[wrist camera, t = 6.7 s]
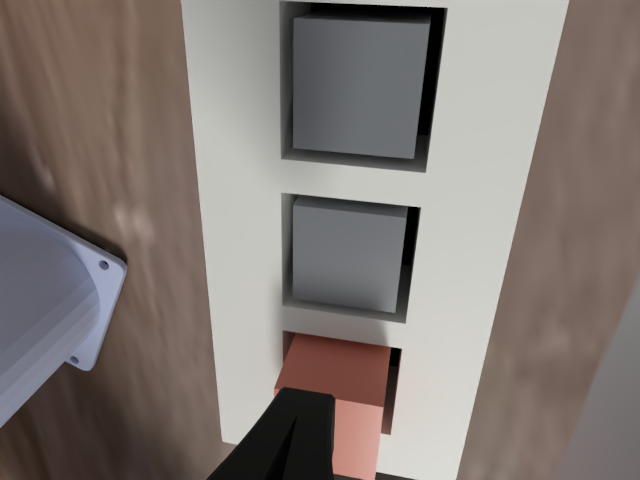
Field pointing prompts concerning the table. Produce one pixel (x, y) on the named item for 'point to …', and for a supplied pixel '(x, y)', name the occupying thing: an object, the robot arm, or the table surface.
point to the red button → (343, 394)
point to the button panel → (371, 186)
